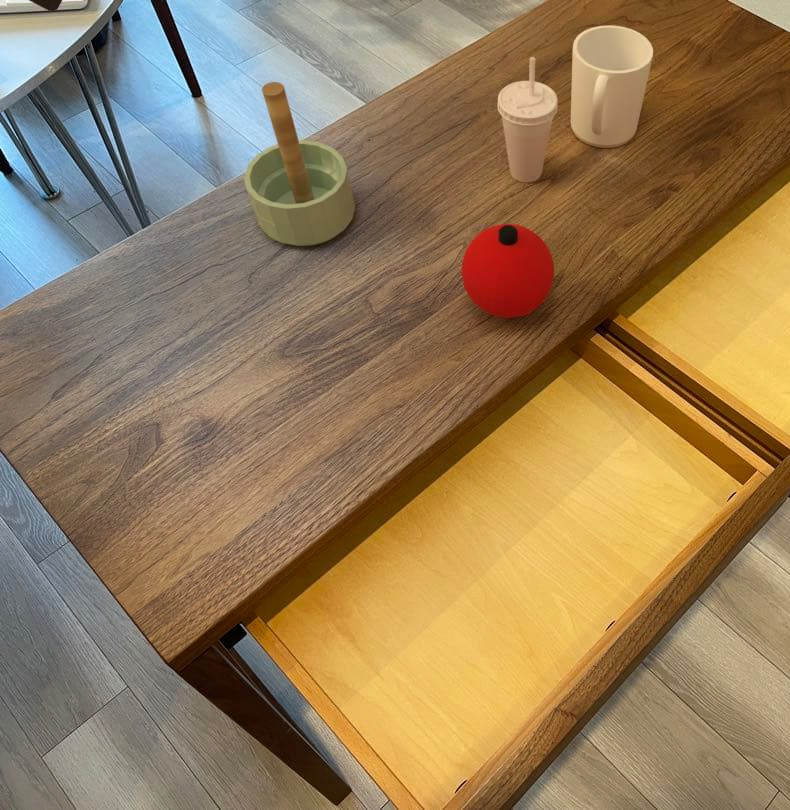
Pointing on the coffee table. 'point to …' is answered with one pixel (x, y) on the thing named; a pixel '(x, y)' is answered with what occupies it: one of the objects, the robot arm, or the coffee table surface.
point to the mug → (608, 84)
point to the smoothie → (527, 124)
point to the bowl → (302, 219)
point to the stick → (287, 141)
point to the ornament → (507, 270)
